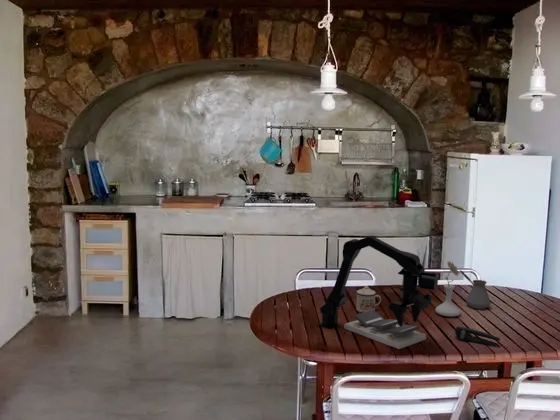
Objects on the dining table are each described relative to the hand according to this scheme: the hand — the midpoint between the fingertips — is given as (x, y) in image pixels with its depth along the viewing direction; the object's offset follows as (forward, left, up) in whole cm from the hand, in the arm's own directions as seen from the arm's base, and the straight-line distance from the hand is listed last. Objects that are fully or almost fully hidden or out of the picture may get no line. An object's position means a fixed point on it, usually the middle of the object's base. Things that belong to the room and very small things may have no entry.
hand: (407, 324), depth 218 cm
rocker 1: (0, +20, -3) cm, 20 cm away
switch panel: (0, +11, -7) cm, 13 cm away
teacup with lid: (+18, +36, -7) cm, 41 cm away
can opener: (+22, -18, -8) cm, 29 cm away
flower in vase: (+44, +10, -7) cm, 46 cm away
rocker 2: (0, +11, -3) cm, 12 cm away
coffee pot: (+68, +12, -7) cm, 69 cm away
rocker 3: (0, +2, -3) cm, 4 cm away
